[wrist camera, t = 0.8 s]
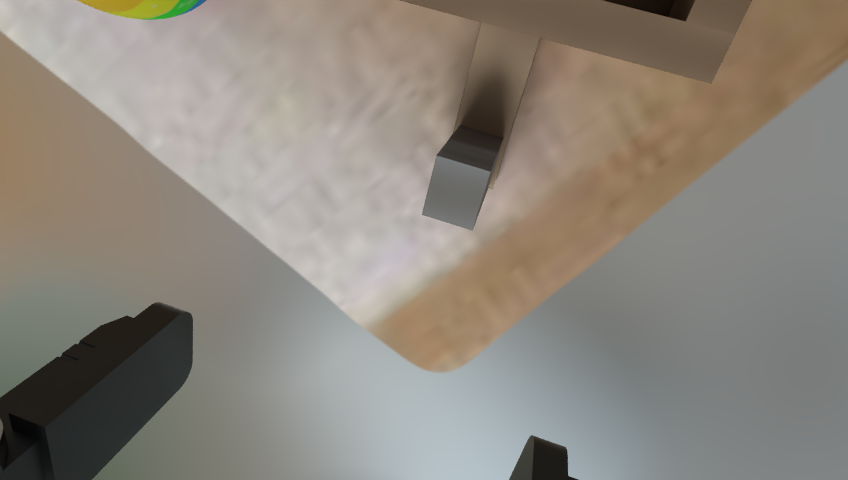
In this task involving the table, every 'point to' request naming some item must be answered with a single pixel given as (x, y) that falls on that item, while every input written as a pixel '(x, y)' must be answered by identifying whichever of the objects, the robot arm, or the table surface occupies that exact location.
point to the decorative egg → (144, 7)
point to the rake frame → (512, 59)
